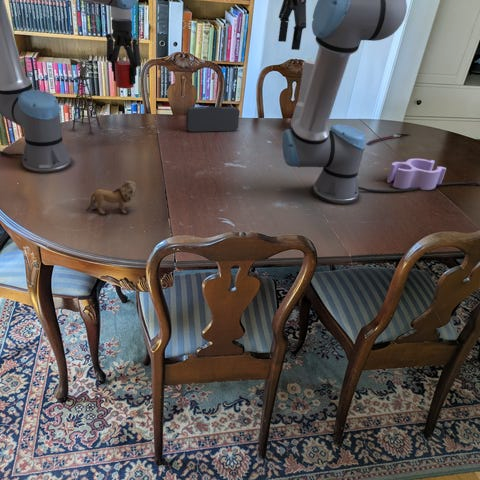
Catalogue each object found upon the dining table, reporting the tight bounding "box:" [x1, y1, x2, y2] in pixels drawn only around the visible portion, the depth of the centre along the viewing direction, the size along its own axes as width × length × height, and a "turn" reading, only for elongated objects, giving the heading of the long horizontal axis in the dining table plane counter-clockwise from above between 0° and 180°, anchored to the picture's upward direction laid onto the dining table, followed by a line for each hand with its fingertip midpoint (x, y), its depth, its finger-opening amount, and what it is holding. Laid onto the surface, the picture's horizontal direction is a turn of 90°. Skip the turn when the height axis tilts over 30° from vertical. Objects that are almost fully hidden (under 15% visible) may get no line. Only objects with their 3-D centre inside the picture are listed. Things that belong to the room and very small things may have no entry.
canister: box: [115, 60, 135, 89], centre depth 184 cm, size 7×7×9 cm
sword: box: [367, 133, 409, 145], centre depth 213 cm, size 31×3×1 cm, turn 126°
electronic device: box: [290, 58, 316, 128], centre depth 206 cm, size 12×8×30 cm, turn 148°
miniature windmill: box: [69, 50, 102, 134], centre depth 182 cm, size 9×8×30 cm
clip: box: [386, 157, 447, 191], centre depth 173 cm, size 20×12×7 cm, turn 109°
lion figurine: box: [85, 180, 137, 215], centre depth 135 cm, size 15×5×9 cm, turn 110°
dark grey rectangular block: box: [185, 106, 241, 133], centre depth 199 cm, size 23×3×10 cm, turn 108°
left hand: (124, 82), depth 185 cm, fingers closed on canister, 7 cm apart
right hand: (288, 45), depth 164 cm, fingers open, 13 cm apart
